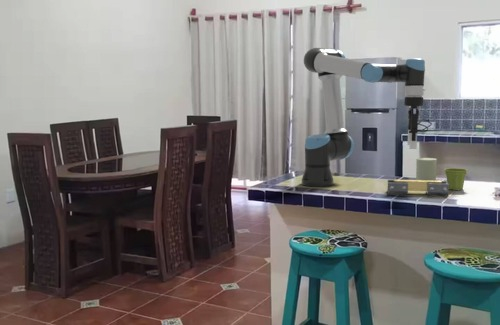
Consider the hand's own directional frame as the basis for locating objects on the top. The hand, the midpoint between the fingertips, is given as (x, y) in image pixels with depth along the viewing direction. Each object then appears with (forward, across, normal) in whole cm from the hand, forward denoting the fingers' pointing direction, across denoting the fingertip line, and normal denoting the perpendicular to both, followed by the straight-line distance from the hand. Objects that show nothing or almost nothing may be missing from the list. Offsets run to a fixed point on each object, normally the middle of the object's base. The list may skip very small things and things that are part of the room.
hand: (411, 147), depth 216 cm
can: (+20, +25, -9) cm, 33 cm away
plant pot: (+20, +11, -20) cm, 30 cm away
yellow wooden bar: (+18, -2, -3) cm, 18 cm away
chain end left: (+20, -2, +5) cm, 20 cm away
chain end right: (+19, -2, -11) cm, 22 cm away
